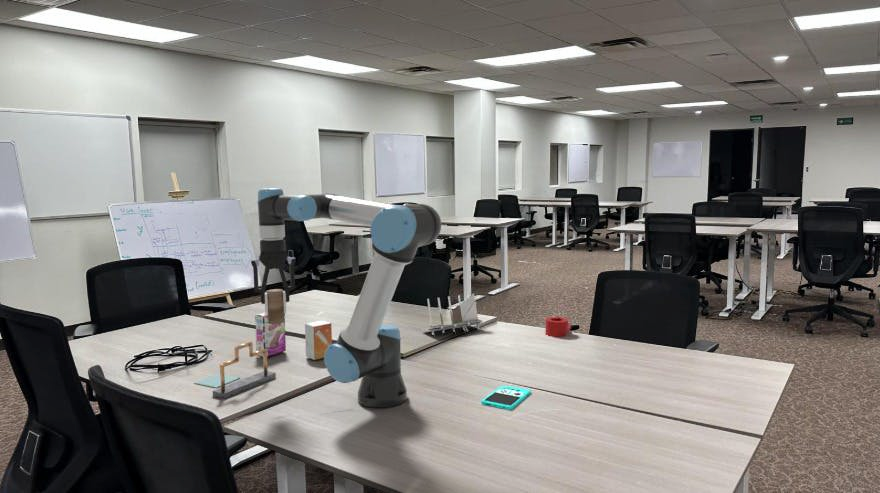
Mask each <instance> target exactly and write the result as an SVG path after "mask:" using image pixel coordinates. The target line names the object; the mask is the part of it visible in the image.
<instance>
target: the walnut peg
mask: <svg viewBox="0 0 880 493" xmlns="http://www.w3.org/2000/svg"><path fill="white" fill-rule="evenodd" d="M283 291H284V289H282V288H274V289H269V290H265V292H267V299H268V323H269V324H280V323H284V322H285V323H286V320H285V321H284V306H283Z"/></svg>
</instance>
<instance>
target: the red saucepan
mask: <svg viewBox="0 0 880 493" xmlns="http://www.w3.org/2000/svg"><path fill="white" fill-rule="evenodd" d="M571 330H572V324H571V323H569V320H568V318H565V317H560V316H550V317H547V318H545V330H544V331H545V333H544V334H545V336H547V335H548V337H550V336H552V337H551V338H563V337H562V336H565V337H567V336H568V335H569V333H570V331H571ZM567 334H568V335H567ZM566 335H567V336H566Z"/></svg>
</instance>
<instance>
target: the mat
mask: <svg viewBox="0 0 880 493" xmlns="http://www.w3.org/2000/svg"><path fill="white" fill-rule="evenodd" d="M224 375H225V385H229V384H231V383H234V382H236V381H239V380H240V377H237V376H232V375H227V374H224ZM194 384H195V385H200V386H203V387H209V388H214V389H219V388H221V377H220V373H217V374H213V375H211V376H209V377H207V378H206V377H205V378H204V379H201V380H198V381H195V382H194Z"/></svg>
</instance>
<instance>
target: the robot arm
mask: <svg viewBox="0 0 880 493" xmlns="http://www.w3.org/2000/svg"><path fill="white" fill-rule="evenodd" d="M283 190H284V189H283V188H274V187H273V188H261V189H260V188H259V190H258V192H257V208H258V209H257V210H258V227H259V228H258V230H259V232H258V233H259V238H260V240H259V251H260V254H259V256H258V258H255V259H251V260H250V264H251V266H252V268H253V270H252V272H253V288H254V289H253V290H254V292H255V293H259V294H260V303H261V304H262V305H264V311H265V312H264V313H265V314H266V315H268V299H267V292H266V288H267V284H268V283H267V282H268V278H269V273H270V270H274V269H276V270H278V272H279V275H280V280H281V282H282V284H283V288H284V289H283V306H284V313H285V314H287V303H289V302H290V292H291V291H294V290H295V289H296V277H295V265H296V262H297V259H296V257H294V256H293V257H291V256H288V255H287V250H286V249H287V248H286V239H285V237H286V230H285V228H286V227H285V226H286V224H285V221H296V222H305V221H310V220H314V219H329V220H334V221H340V222H344V223H345V222H346V223H351V224H357V225H360V226H365V227H369V228H370V229H369V234H370V235H371V238H370V239H371V242H372V244H371V249H372V252H373V253H374V256H373V259H372V261H371V264H370V266H369V269H368V272H367V275H366V277H365V280H364V283H363V286H362V289H361V291H360V293H359V297H358V300H357V302H356V304H355V307H354V310H353V313H352V315H351V319H350V321H349V324H347V325H346V326H343V327H342V328H341V330H340V332H339V335H338V338H337V340H336V342H335V343H332V344H331V345H330V346H329V347H328V348H327V349H326V351H325V355H324V358H323V359H324V365H325V367H326V371H327V372H328V374H329V375H330V377H331V378H332V379H334V380H335V381H336V382H337V383H340V384H349V383H352V382H355V381H358V380H359V379H361V380H360V385H359V387H358V389H357V390H358V391H357V400H358V403H359V404H361V406H365V407H369V408H390V407H391V408H392V407H395V406H398V405H401V404H402V403H405V402H406V400H407V399H408V391H407V387H406V384H405V382H404V378H403V376H402V368H401V363H402V362H401V361H402V360H401V359H402V358H401V356H402V355H401V340H402V339H401V331H400V329H399V328H398V327H397V326H395V325H391V324H385V323H384V319H385V317H386V314H387V312H388V310H389V308H390V304H391V302H392V299H393V297H394V295H395V291H396V289H397V286H398V284H399V282H400V279H401V276H402V273H403V271H404V269H405V266H407V265H409V264H411V263H412V262H413V261H414V259H415V256H416V253H417V250H418V248H420V247H424V246H427V245H430V244H432V243H434V242H435V241H436V240H437V239H438V237H439V236H440V234H441V230H442V219H441V217H440V214H439V212H437V210H436V209H435V208H434V207H432V206H430V205H429V204H425V203H415V204H413V203H407V202H406V203H404V204H403V205H402V204H391V203H383V202H379V201H378V202H377V201H371V200H367V199H360V198H353V197H347V196H341V195H339V194H336V193H330V192H329V193H327V192H326V193H317V194H284V191H283ZM286 261H287V263H288V265H289V282H290V283H289V285H288V281H287V279H286V274H285V272H284V267H283V266H284V264H285V263H286ZM260 263H261V264H262V265H263V266H264V270H263V271H264V272H263V276H262V281H261V286H260V287H259V273H258V271H259V270H258V266H259V265H260ZM383 323H384V324H383Z"/></svg>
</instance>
